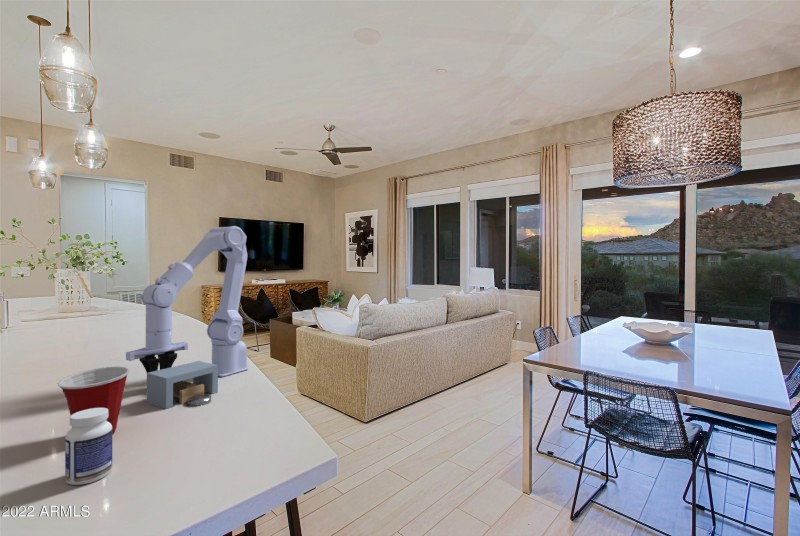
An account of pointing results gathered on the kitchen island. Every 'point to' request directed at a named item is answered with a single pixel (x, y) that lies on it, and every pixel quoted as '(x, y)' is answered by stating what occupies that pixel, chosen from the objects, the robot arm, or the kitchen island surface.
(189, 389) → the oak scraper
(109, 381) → the plastic cup
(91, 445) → the pill bottle
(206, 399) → the steel token
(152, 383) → the low shelf
